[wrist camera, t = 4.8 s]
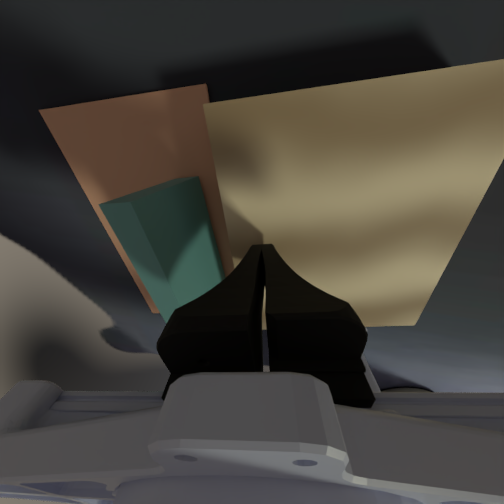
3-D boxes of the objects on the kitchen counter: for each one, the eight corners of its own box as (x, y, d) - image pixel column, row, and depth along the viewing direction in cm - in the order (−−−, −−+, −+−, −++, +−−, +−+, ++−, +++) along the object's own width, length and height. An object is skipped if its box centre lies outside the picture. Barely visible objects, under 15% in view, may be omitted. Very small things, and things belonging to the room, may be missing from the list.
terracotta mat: (246, 307, 21) (245, 309, 20) (154, 311, 22) (152, 313, 21) (206, 84, 11) (205, 83, 11) (43, 110, 12) (38, 110, 12)
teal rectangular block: (196, 339, 13) (173, 335, 14) (227, 284, 18) (209, 282, 19) (130, 202, 8) (98, 204, 9) (198, 176, 13) (174, 178, 14)
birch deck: (386, 291, 19) (414, 325, 15) (249, 297, 20) (246, 330, 16) (462, 80, 10) (561, 50, 7) (220, 114, 12) (202, 104, 8)
